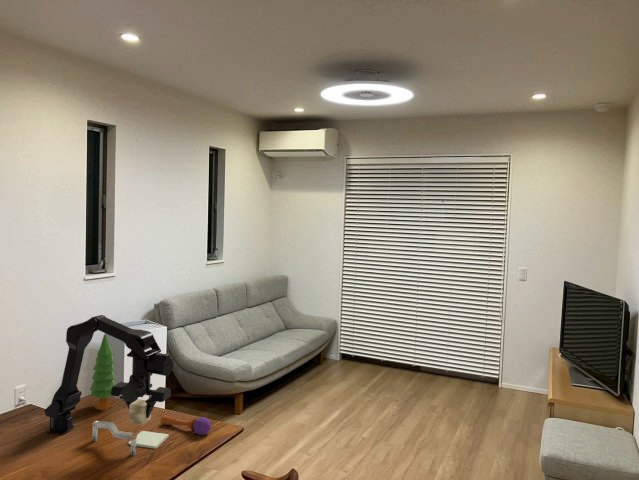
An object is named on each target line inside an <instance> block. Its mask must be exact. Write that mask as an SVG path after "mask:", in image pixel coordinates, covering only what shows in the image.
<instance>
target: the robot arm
mask: <svg viewBox="0 0 639 480" xmlns="http://www.w3.org/2000/svg"><path fill="white" fill-rule="evenodd" d="M98 331H99V332H102V333H104V334H106V335H108V336H110V337H112V338H114V339H117V340H118V341H120V342H123V343H124V345H125V346H126V348H127V349H129V350H130V351H129V352H128V353H127V354H126V357H128V358H132V367H131V368H132V369H131V375H130V376H129V380H128V382H125V381H119V382H117V383H115V384H116V385H114V386H113V387H112V388H111V396H110V397H113V396H114V397H119V399H121V400H122V401H123V402H125V405H127V408H128V409H129V405H130V404H131V403H133V402H134V401H136V400H137V399H139V398H143V397H144V396H148V399H145V400H146V401H145V402H146V404H147V408H146V418H149V416H150V414H151V415H152V412H153V409H154V407H155V405H156V403H157V402H159V403H164V402H165V401H166V400H167V399H169V398H170V397H172V391H171V388H170V387H165V386H159V387H157V388H156V389H151V388H152V387H153V383H151V376H153V374H154V375H158V376H165V377H168V376H169V375H171V373H172V371H173V369H174V361H173V359H172V358H171V356H170V354H169V353H163V352H162V349H161V348H160V346H159V345H158V342H157V341H156V339H155V337H154V333H153V332H151V331H149V330H144V329H137V328H136V329H134V328H130V327H128V326H126V325H124V324H122V323H119V322H117V321H116V320H113V319H111V318H108V317H106V316H105V315H103V314H100V315H96V316H91V317H90V318H89V319H87V320H86V321H83V322H80V323H77V324H74V325H73V324H72V325H70V326H69V327H68V328H67V329H66V336H65V342H66V344H67V346H68V352H67V355H66V360H65V366H64V369H63V375H62V379H61V384H60V386H59V388H58V389H57V390H56V391H55V392H54V395H53V397H52V399H51V403H50V404H49V405H48V406H47V407H46V408H45V409H44V413H45V417H48V418H49V429H46V433H48V434H56V435H64V434H65V433H67V432H69V431H70V430H72V429H73V428H75V425H74V424H73V416H72V411H74V410H76V407H77V406H78V405H79V403H80V402H81V396H82V393H83V392H82V391H81V390H79V389H78V387H77V385H78V381H79V378H80V371H81V368H82V362H83V358H84V354H85V349H86V348H87V347H88V345H89V344H90V343H91V341H92V339H93V336H94V334H95V333H96V332H98ZM146 350H147V351H146ZM161 352H162V353H161Z"/></svg>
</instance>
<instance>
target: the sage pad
mask: <svg viewBox="0 0 639 480" xmlns="http://www.w3.org/2000/svg"><path fill="white" fill-rule="evenodd" d="M136 435H137V438H136V447H140V448H141V447H142V448H148V449H149V448H150V449H154V450H155V449H156V450H157V448H158V447H159V446H161V444H163V443H164V441H165V440H167V439H168V438H169V434H167V433H160V432H155V431H154V432H153V431H147V430H146V431H145V430H141V431H140V432H138V433H137V434H136ZM127 443H128V445H127V446H131V440H128V442H127Z"/></svg>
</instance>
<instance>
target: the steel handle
mask: <svg viewBox="0 0 639 480" xmlns="http://www.w3.org/2000/svg"><path fill="white" fill-rule="evenodd" d="M91 426H92V433H91V434H92V438H91V440H92V441H91V442H92V443H95V442H98V434H99V433H98V430H99V429H105V430H106V429H107V430H109V431H110V433H111V435H112V436H113V438H115V439H122V440H128V441H131V445H130V456H132V457H134V456H136V455H137V446H136V438H137V435H138V434H137V433H135V432H129V431H128V432H127V431H121V430H119V429H118V427H117V425H116V424H115V423H114V422H111V421H104V420H94V421H92V423H91Z"/></svg>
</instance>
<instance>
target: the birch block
mask: <svg viewBox="0 0 639 480" xmlns="http://www.w3.org/2000/svg"><path fill="white" fill-rule="evenodd" d="M146 400H147V399H139V398H138V399H137V400H136V401H134V402H133V403H131V404H130V405H129V408H128V411H129V413H128V423H130V424H135V425H142V426H143V425H145V424H146V423H147V422H148V421H150V420H151V419H152V413H151V414H150V416H149V418H146V408H147V404H146V402H145V401H146Z"/></svg>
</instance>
